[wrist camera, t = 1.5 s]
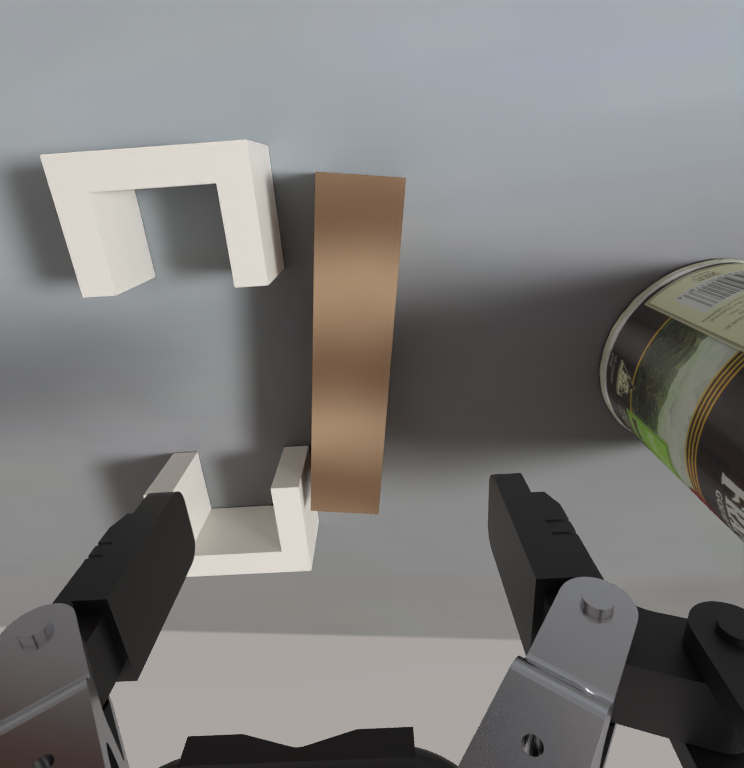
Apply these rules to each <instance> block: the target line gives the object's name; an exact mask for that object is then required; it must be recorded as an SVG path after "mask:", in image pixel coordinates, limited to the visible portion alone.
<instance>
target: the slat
mask: <svg viewBox="0 0 744 768" xmlns="http://www.w3.org/2000/svg"><path fill="white" fill-rule="evenodd" d="M405 183H406V178H401V177H386V176H371V175H356V174H341V173H326V172H315V216H314V290H313V363H312V437H311V511H325V512H345V513H364V514H378V513H379V501H380V488H381V476H382V464H383V452H384V440H385V427H386V415H387V403H388V391H389V379H390V366H391V354H392V342H393V330H394V318H395V305H396V293H397V281H398V269H399V256H400V244H401V232H402V220H403V208H404V195H405Z"/></svg>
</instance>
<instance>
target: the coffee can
mask: <svg viewBox="0 0 744 768" xmlns="http://www.w3.org/2000/svg"><path fill="white" fill-rule="evenodd" d="M600 383H601V390H602V394H603V397H604V400H605V402H606V404H607V406H608V408H609V410H610V411H611V413H612V414H613V416H614V417H615V418H616V419H617V421H618V422H619V423H620V424H621V425H623V426H624V427H625V428H626V429H628V430H629V431H630V432H632V433H633V434H634V435H635V436H636V437H637V438H638V439H639V440H640V441H641V442H642V443H643V444H644V445H645V446H646V447H647V448H648V449H649V450H651V451H652V452H653V453H654V454H655V455H656V456H657V457H658V458H659V459H660V460H661V461H662V462H663V463H664V464H665V465H666V466H667V467H668V468H669V469H670V470H671V471H672V472H673V473H674V474H675V475H676V476H677V477H678V478H679V479H680V480H681V481H682V482H683V483H684V484H685V485H686V486H687V487H688V488H689V489H690V490H691V491H692V492H693V493H694V494H695V495H696V496H697V497H698V498H699V499H700V500H701V501H702V502H703V503H704V504H705V505H706V506H707V507H708V508H709V509H710V510H711V511H712V512H713V513H714V514H715V515H717V517H718V518H719V519H720V520H721V521H722V522H724V523H725V524H726V525H727V526H728V527H729V528H730V529H731V530H732V531H733V532H734V533H735V534H736V535H737V536H738V537H739V538H740V539H741V540H742V541H743V542H744V260H737V259H714V260H709V261H704V262H700V263H696V264H693V265H689V266H687V267H684V268H681V269H679V270H676V271H674V272H672V273H670V274H668V275H666V276H665V277H663V278H661V279H660V280H658V281H657V282H655V283H654V284H652V285H651V286H649V287H648V288H647V289H646V290H645V291H643V292H642V293H641V294H640V295H638V296H637V297H636V298H635V299H634V300H633V301H632V303H631V304H630V305H629V306H628V308H627V309H626V310H625V311H624V312H623V313H622V314H621V316H620V317H619V319H618V320H617V322H616V323H615V325H614V326H613V328H612V330H611V332H610V334H609V336H608V339H607V341H606V344H605V347H604V350H603V354H602V358H601V364H600Z"/></svg>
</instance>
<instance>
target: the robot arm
mask: <svg viewBox="0 0 744 768" xmlns="http://www.w3.org/2000/svg"><path fill="white" fill-rule="evenodd" d="M488 532H489V540H490V545H491V549H492V552H493V555H494V558H495V561H496V565H497V568H498V571H499V574H500V577H501V580H502V583H503V586H504V589H505V592H506V595H507V598H508V602H509V605H510V608H511V611H512V614H513V617H514V620H515V623H516V626H517V629H518V632H519V635H520V639H521V642H522V645H523V648H524V651H525V654H526V657H525V658H522V657H521V656H518V657H517V658H516V659H515V660H514V661H513V663H512V664H511V666H510V668H509V670H508V672H507V674H506V676H505V678H504V680H503V682H502V683H501V685H500V687H499V689H498V691H497V693H496V695H495V697H494V699H493V701H492V703H491V704H490V706H489V708H488V710H487V712H486V714H485V716H484V718H483V720H482V722H481V724H480V726H479V727H478V729H477V732H476V733H475V735H474V737H473V739H472V741H471V743H470V745H469V747H468V749H467V750H466V752H465V754H464V756H463V758H462V760H461V762H460V764H459V766H457V765H455V764H454V763H452V762H451V761H449V760H447V759H445V758H444V757H442V756H440V755H438V754H435V753H433V752H430V751H428V750H424V749H421V748H417V747H414V734H413V727H400V728H376V729H357V730H354V731H351V732H348V733H344V734H341V735H338V736H335V737H332V738H329V739H325V740H322V741H319V742H316V743H313V744H310V745H307V746H304V747H297V748H295V747H290V746H286V745H282V744H278V743H275V742H271V741H267V740H263V739H259V738H255V737H251V736H248V735H243V734H236V735H214V736H190V737H188V738H187V741H186V744H185V747H184V750H183V753H182V756H181V758H180V759H177V760H174V761H172V762H170V763H168V764H166V765H163V766H161V767H159V768H605V765H606V761H607V757H608V754H609V750H610V747H611V743H612V740H613V736H614V733H615V729H616V726H617V724H620V725H623V726H627V727H631V728H634V729H638V730H641V731H645V732H648V733H652V734H655V735H659V736H663V737H666V738H669V739H670V741H671V743H672V745H673V748H674V750H675V752H676V754H677V756H678V758H679V760H680V762H681V765H682V767H683V768H744V609H743V608H740V607H738V606H735V605H732V604H728V603H723V602H716V601H709V602H702V603H699V604H697V605H695V606H694V607H693V608H692V609H691V610H690V612H689V616H688V619H686V618H681V617H677V616H672V615H667V614H662V613H657V612H653V611H649V610H645V609H643V608H640V607H637V606H636V605H635V603H634V602H633V600H632V599H631V598H630V596H629V595H628V594H627V593H626V592H624V591H623V590H622V589H620V588H619V587H617V586H616V585H614V584H612V583H610V582H608V581H605V580H604V579H603V577H602V576H601V574H600V572H599V571H598V569H597V567H596V565H595V564H594V562H593V560H592V558H591V557H590V555H589V553H588V552H587V550H586V548H585V546H584V545H583V543H582V541H581V540H580V538H579V536H578V534H576V531H575V529H574V527H573V526H572V524H571V522H569V520H568V517H567V515H566V514H565V512H564V510H563V509H562V507H561V505H560V504H559V503H558V502H557V501H555V500H554V499H553V498H551V497H550V496H549V495H548V494H546V493H545V492H531V491H530V489H529V487H528V485H527V483H526V482H525V480H524V478H523V476H522V474H521V473H513V474H495V475H491V476H490V481H489V509H488ZM194 555H195V538H194V534H193V530H192V526H191V523H190V519H189V515H188V511H187V507H186V503H185V500H184V497H183V495H182V493H181V492H179V491H177V492H159V493H149V494H148V495H147V496H146V497H145V498H144V500H143V501H142V502H141V504H140V505H139V507H138V508H137V509H136V511H135V512H134V513H133V514H127V515H126V516H124V517H123V518H122V519H120V520H119V521H118V522H116V523H115V524H114V525H112V526H111V527H110V528H109V529H108V531H107V532H106V533H105V535H104V536H103V537H102V539H101V540H100V541H99V542H98V546H95V548H94V549H93V550H92V552H91V553H90V554H89V558H88V559H86V560H85V561H84V562H83V564H82V565H81V566H80V568H79V569H78V570H77V572H76V573H75V574H74V575H73V577H72V578H71V579H70V581H69V582H68V583H67V585H66V586H65V587H64V589H63V590H62V591H61V593H60V594H59V595H58V597H57V598H56V599H55V601H54V602H53V603H52V604H48V605H44V606H41V607H38V608H36V609H33V610H31V611H29V612H27V613H25V614H24V615H22V616H21V617H19V618H18V619H16V620H15V621H13V622H12V623H11V624H10V625H9V626H8V627H7V628H6V629H5V630H4V631H3V632H2V633H1V634H0V768H129V764H128V761H127V757H126V753H125V750H124V745H123V742H122V738H121V735H120V730H119V726H118V723H117V719H116V715H115V712H114V707H113V704H112V701H111V699H110V696H109V694H110V692H111V690H112V688H113V686H114V684H115V682H119V681H137V680H138V678H139V676H140V674H141V672H142V670H143V667H144V665H145V663H146V661H147V659H148V657H149V655H150V652H151V650H152V648H153V646H154V644H155V642H156V640H157V638H158V635H159V633H160V631H161V629H162V627H163V625H164V623H165V621H166V618H167V616H168V614H169V612H170V610H171V608H172V606H173V604H174V601H175V599H176V597H177V595H178V593H179V591H180V589H181V587H182V584H183V582H184V580H185V578H186V576H187V574H188V572H189V570H190V567H191V565H192V563H193V560H194Z"/></svg>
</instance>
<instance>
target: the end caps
mask: <svg viewBox="0 0 744 768" xmlns="http://www.w3.org/2000/svg"><path fill="white" fill-rule="evenodd" d="M40 158H41V161H42V165H43V168H44V171H45V174H46V178H47V181H48V184H49V188H50V191H51V194H52V197H53V201H54V204H55V207H56V211H57V214H58V217H59V220H60V224H61V227H62V230H63V234H64V237H65V240H66V243H67V247H68V250H69V253H70V257H71V260H72V263H73V266H74V270H75V273H76V276H77V280H78V283H79V286H80V289H81V293H82V296H83V298H84V297H99V296H115V295H118V294H120V293H122V292H124V291H127V290H129V289H131V288H133V287H135V286H137V285H139V284H142V283H144V282H146V281H148V280H150V279H152V278H154V277H155V273H154V268H153V264H152V260H151V256H150V252H149V248H148V244H147V239H146V235H145V231H144V227H143V223H142V219H141V214H140V210H139V206H138V202H137V198H136V194H135V190H138V189H152V188H166V187H180V186H193V185H207V184H216V185H217V190H218V196H219V202H220V207H221V213H222V218H223V224H224V230H225V235H226V241H227V247H228V252H229V258H230V263H231V269H232V275H233V280H234V286H235V288H237V287H252V286H267V285H269V284H270V283H271V282H272V281H273V280H274V279H275V278H276V277H277V276H278V275H279V274H280V273H281V272H282V271H283V270H284V261H283V253H282V246H281V238H280V231H279V224H278V216H277V209H276V201H275V194H274V187H273V179H272V172H271V164H270V157H269V150H268V146H267V145H264V144H260V143H257V142H253V141H250V140H234V141H220V142H207V143H193V144H180V145H166V146H153V147H139V148H126V149H112V150H99V151H85V152H71V153H58V154H44V155H40ZM177 491H179V492H181V493H182V495H183V497H184V500H185V503H186V507H187V511H188V515H189V519H190V523H191V526H192V530H193V534H194V538H195V555H194V560H193V563H192V565H191V567H190V570H189V572H188V574H187V576H186V577H192V576H212V575H232V574H253V573H273V572H293V571H311V569H312V562H313V556H314V549H315V543H316V537H317V530H318V524H319V520H318V512H317V511H311V460H310V453H309V446H294V447H284V449H283V452H282V455H281V458H280V461H279V464H278V467H277V470H276V473H275V476H274V480H273V483H272V486H271V494H272V500H273V505H272V506H253V507H234V508H216V509H211V505H210V501H209V497H208V493H207V489H206V485H205V480H204V476H203V472H202V468H201V464H200V460H199V456H198V452H187V453H173V455H172V456H171V458H170V459H169V460H168V462H167V463H166V464H165V466H164V467H163V469H162V470H161V471H160V473H159V474H158V476H157V477H156V478H155V480H154V481H153V483H152V484H151V485H150V487H149V488H148V490H147V491H146V492H145V494H144V495H143V496H144V498H145V497H146V496H147V495H148V494H149V493H159V492H177Z"/></svg>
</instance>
